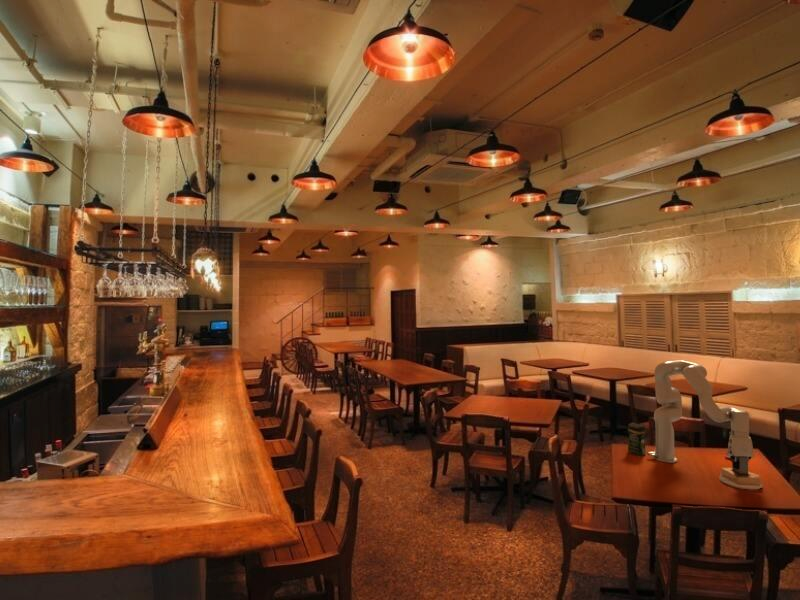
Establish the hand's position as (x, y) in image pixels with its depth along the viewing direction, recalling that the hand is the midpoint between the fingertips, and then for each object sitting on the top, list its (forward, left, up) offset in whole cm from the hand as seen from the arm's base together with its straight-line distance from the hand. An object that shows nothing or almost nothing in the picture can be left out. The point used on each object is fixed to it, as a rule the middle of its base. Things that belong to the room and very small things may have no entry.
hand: (740, 468), depth 238 cm
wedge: (0, 0, -3) cm, 3 cm away
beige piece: (0, 0, -8) cm, 8 cm away
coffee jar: (-33, +44, -8) cm, 56 cm away
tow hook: (+21, +36, -8) cm, 42 cm away
